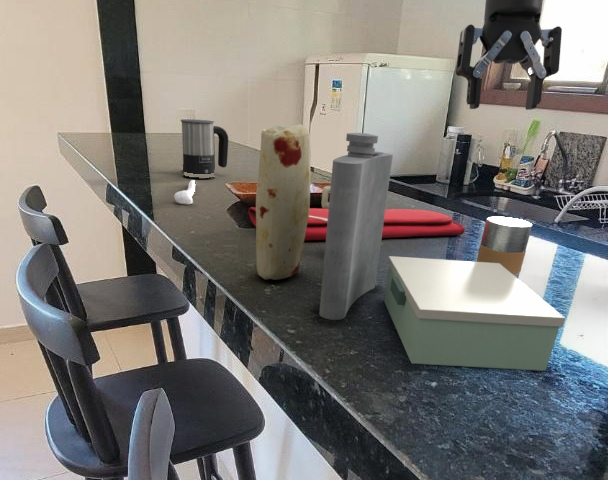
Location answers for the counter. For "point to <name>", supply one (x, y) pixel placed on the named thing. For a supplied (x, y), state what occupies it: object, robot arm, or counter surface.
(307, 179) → the food model
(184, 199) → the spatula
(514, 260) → the tin can
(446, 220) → the dish drying mat
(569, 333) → the counter surface
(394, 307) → the box
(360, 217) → the hip flask
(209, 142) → the milk frother
